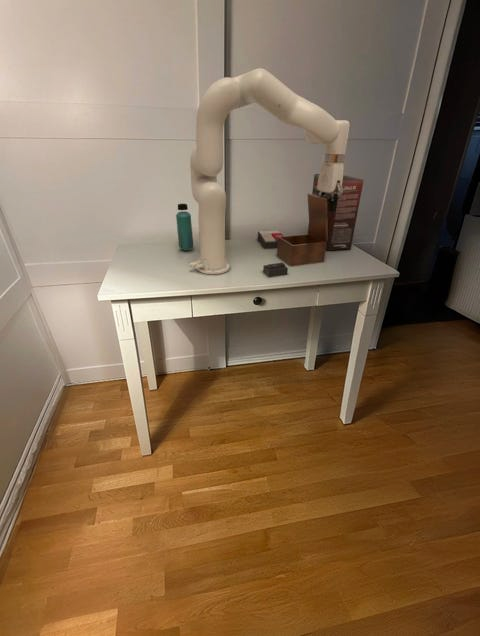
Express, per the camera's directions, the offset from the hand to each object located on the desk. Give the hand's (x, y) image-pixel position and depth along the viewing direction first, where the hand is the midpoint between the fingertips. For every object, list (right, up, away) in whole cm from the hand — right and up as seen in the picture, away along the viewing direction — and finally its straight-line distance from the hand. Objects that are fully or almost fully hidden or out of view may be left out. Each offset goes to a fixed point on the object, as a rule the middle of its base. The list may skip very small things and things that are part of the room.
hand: (326, 209), depth 125 cm
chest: (-9, -19, +7) cm, 22 cm away
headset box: (+8, -7, +27) cm, 29 cm away
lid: (-4, -3, 0) cm, 5 cm away
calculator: (-19, -8, +25) cm, 33 cm away
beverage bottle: (-59, -14, +15) cm, 62 cm away
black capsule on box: (-21, -27, -6) cm, 35 cm away
